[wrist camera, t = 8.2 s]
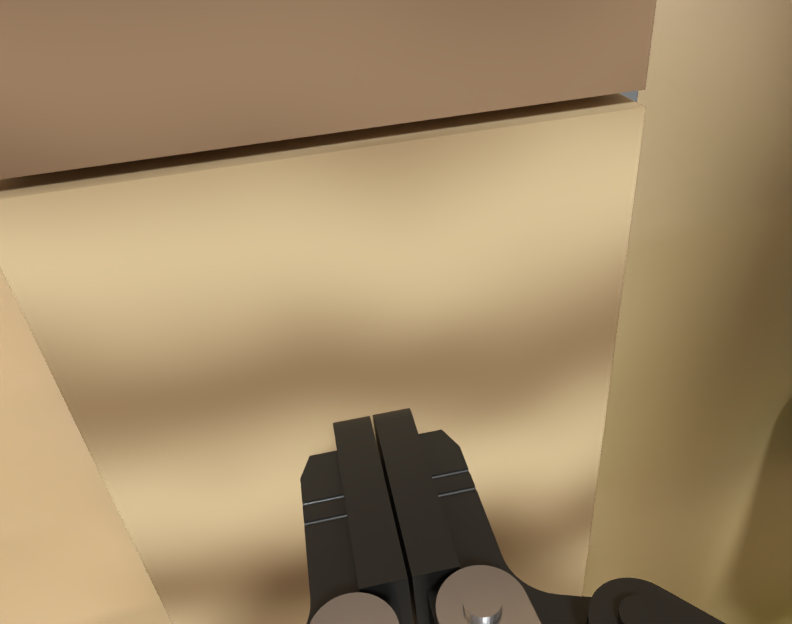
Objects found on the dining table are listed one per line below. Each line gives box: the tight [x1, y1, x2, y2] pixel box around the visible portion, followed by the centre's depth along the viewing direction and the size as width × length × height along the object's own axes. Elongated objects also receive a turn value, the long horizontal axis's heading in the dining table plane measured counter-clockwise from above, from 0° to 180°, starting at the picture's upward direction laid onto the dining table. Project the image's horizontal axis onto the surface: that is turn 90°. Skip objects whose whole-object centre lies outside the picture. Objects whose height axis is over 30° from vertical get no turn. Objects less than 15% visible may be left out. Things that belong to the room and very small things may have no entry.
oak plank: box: [0, 93, 646, 624], centre depth 18 cm, size 22×12×2 cm, turn 5°
